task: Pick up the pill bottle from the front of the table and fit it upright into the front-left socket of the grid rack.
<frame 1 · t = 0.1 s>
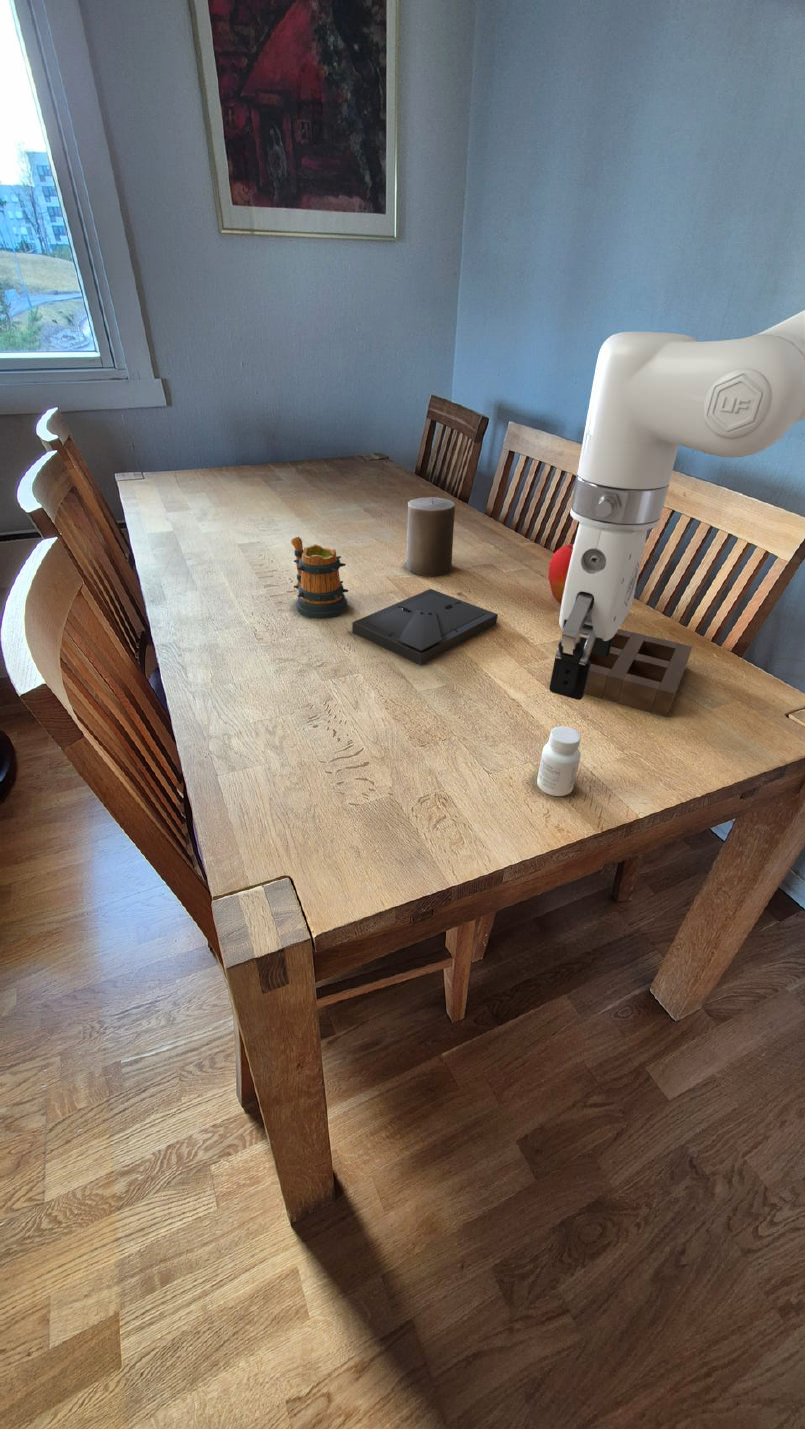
hand: (580, 672, 63), 18 cm above the table, tool pointing down, fingers open, 9 cm apart
grid rack: (622, 676, 98), on the table
picture frame: (425, 629, 110), on the table
pillar candle: (428, 568, 134), on the table
mug: (317, 605, 118), on the table
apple: (567, 603, 122), on the table
pill bottle: (554, 786, 77), on the table
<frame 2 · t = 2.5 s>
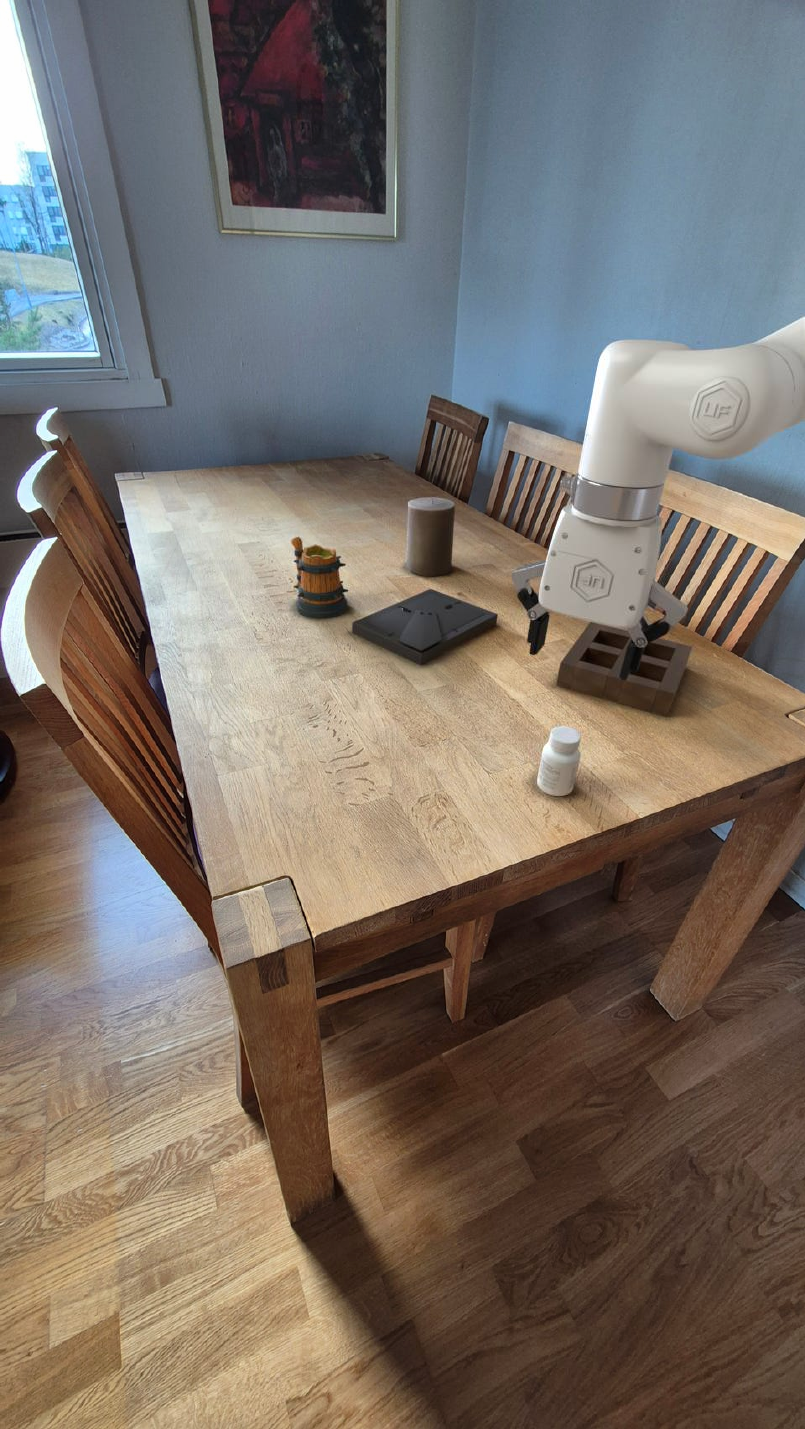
hand: (579, 661, 67), 17 cm above the table, tool pointing down, fingers open, 9 cm apart
nothing on the table moved.
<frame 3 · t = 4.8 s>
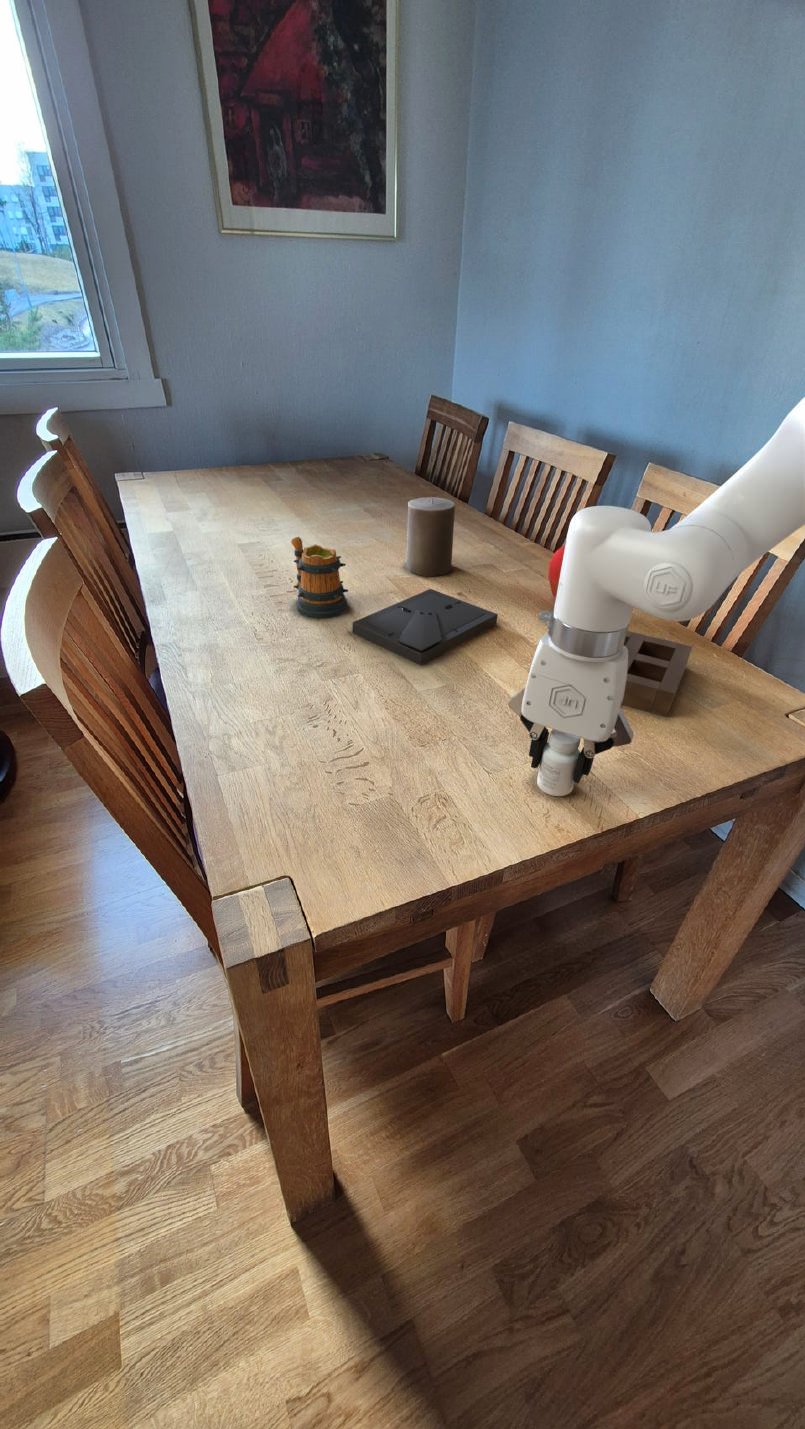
hand: (558, 767, 75), 3 cm above the table, tool pointing down, fingers closed on pill bottle, 4 cm apart
pill bottle: (554, 786, 77), on the table, touching gripper
everything else where it was.
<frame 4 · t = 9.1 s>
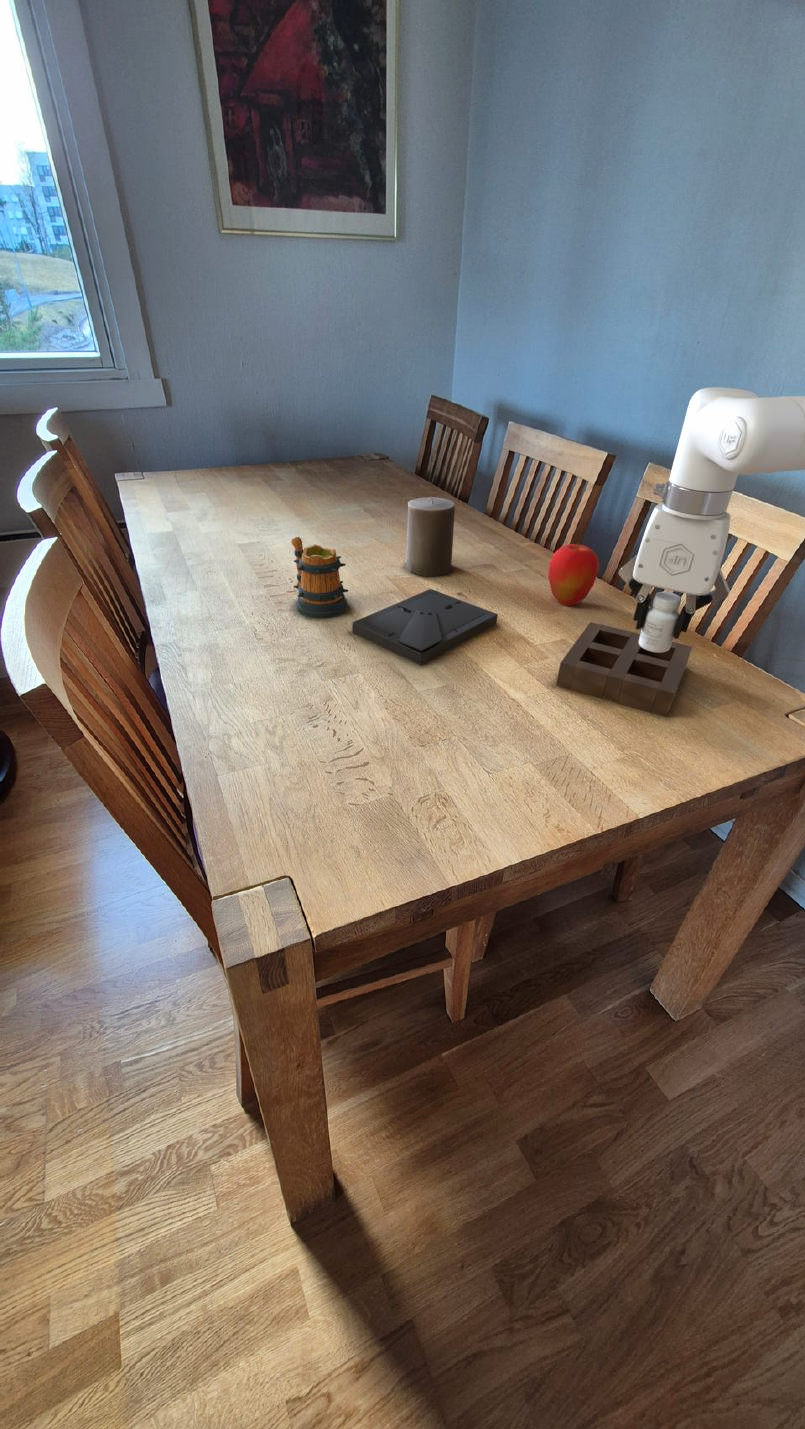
hand: (658, 629, 89), 11 cm above the table, tool pointing down, fingers closed on pill bottle, 4 cm apart
pill bottle: (653, 647, 90), point 8 cm above the table, touching gripper
everything else where it was.
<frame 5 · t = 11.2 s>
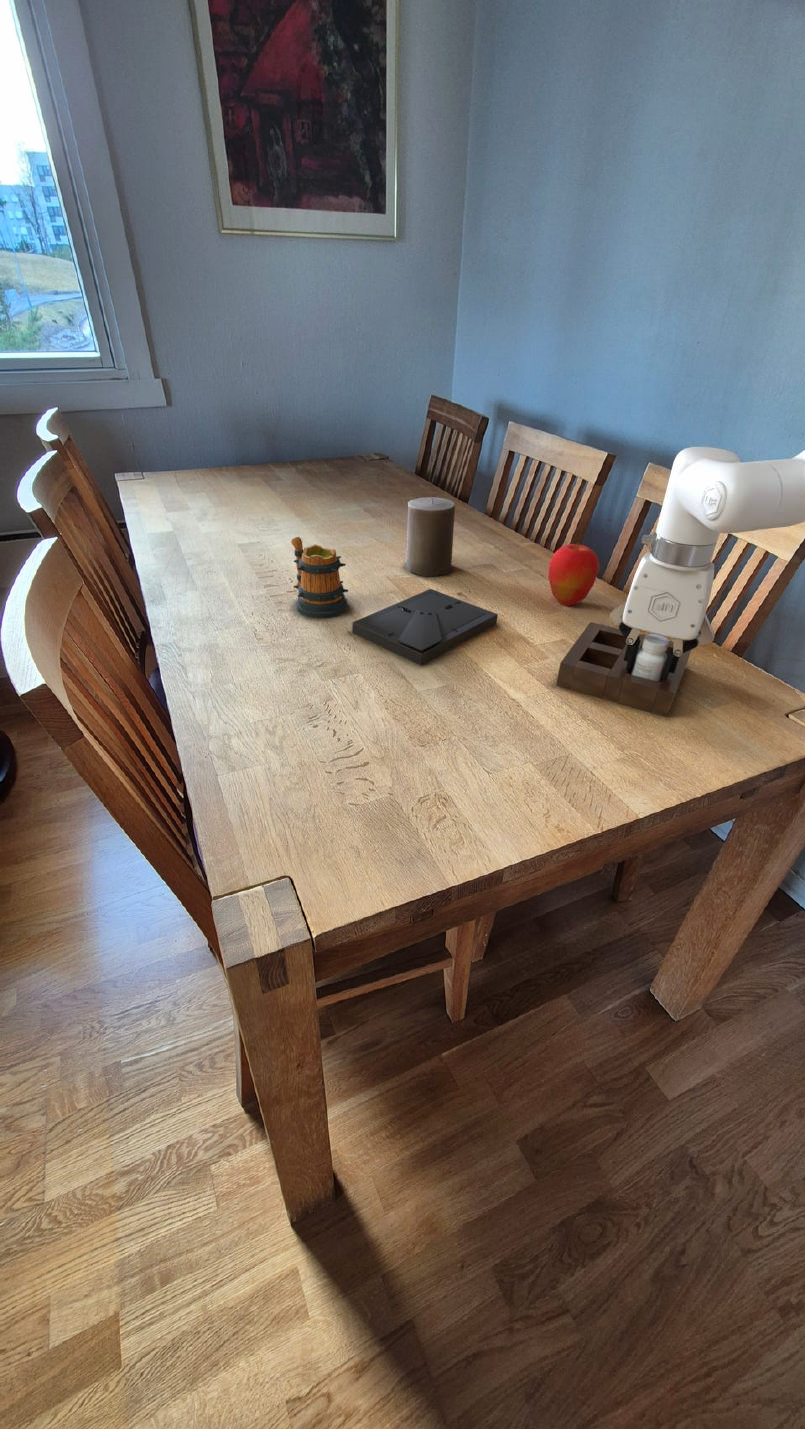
hand: (648, 669, 92), 4 cm above the table, tool pointing down, fingers closed on pill bottle, 4 cm apart
pill bottle: (643, 686, 94), point 1 cm above the table, touching gripper
everything else where it was.
when the fingers open (4 cm above the table, at t = 13.3 s): pill bottle drops 2 cm, resting in grid rack.
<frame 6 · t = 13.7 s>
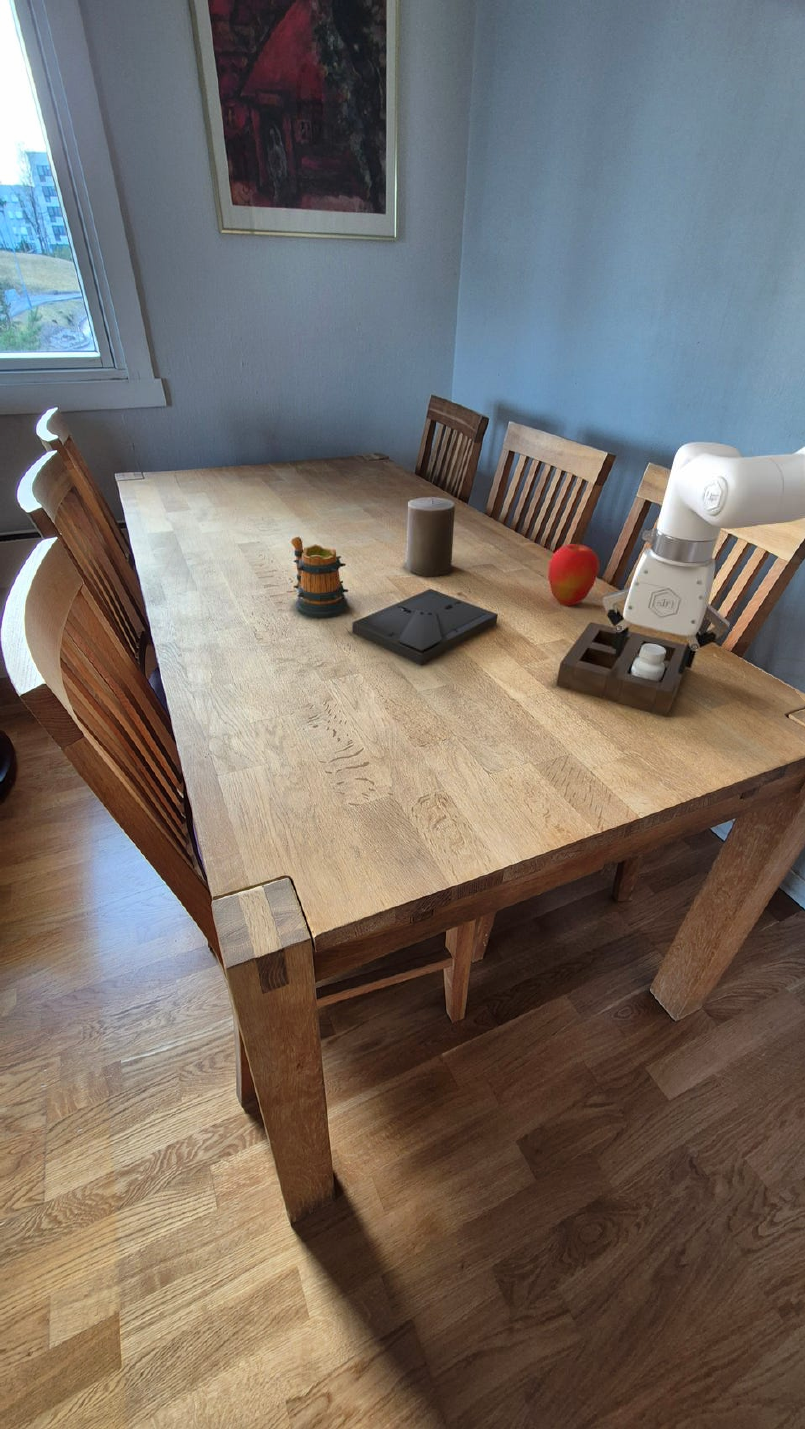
hand: (649, 661, 91), 5 cm above the table, tool pointing down, fingers open, 8 cm apart
pill bottle: (640, 695, 94), resting in grid rack
everything else where it was.
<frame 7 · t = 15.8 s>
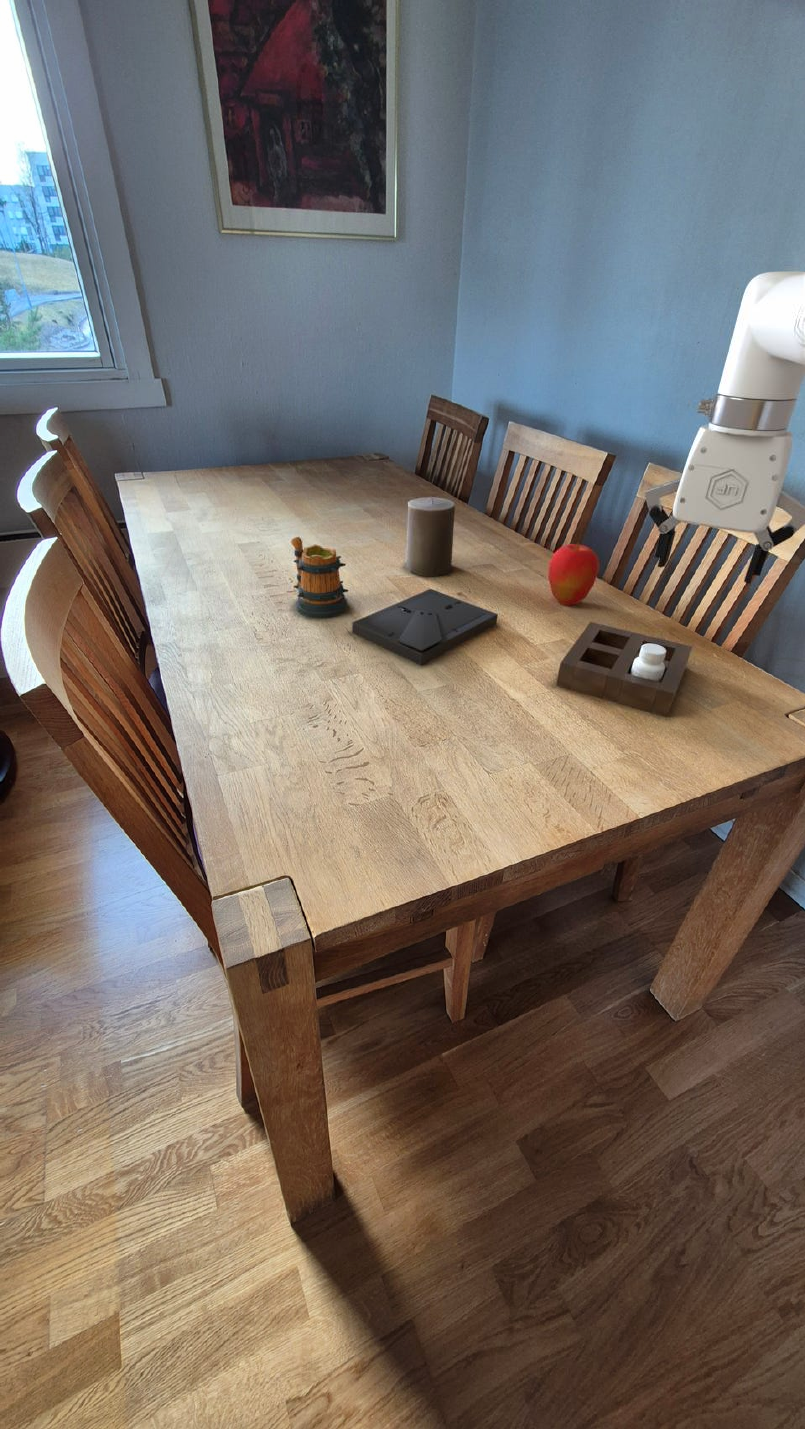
hand: (704, 571, 75), 22 cm above the table, tool pointing down, fingers open, 9 cm apart
nothing on the table moved.
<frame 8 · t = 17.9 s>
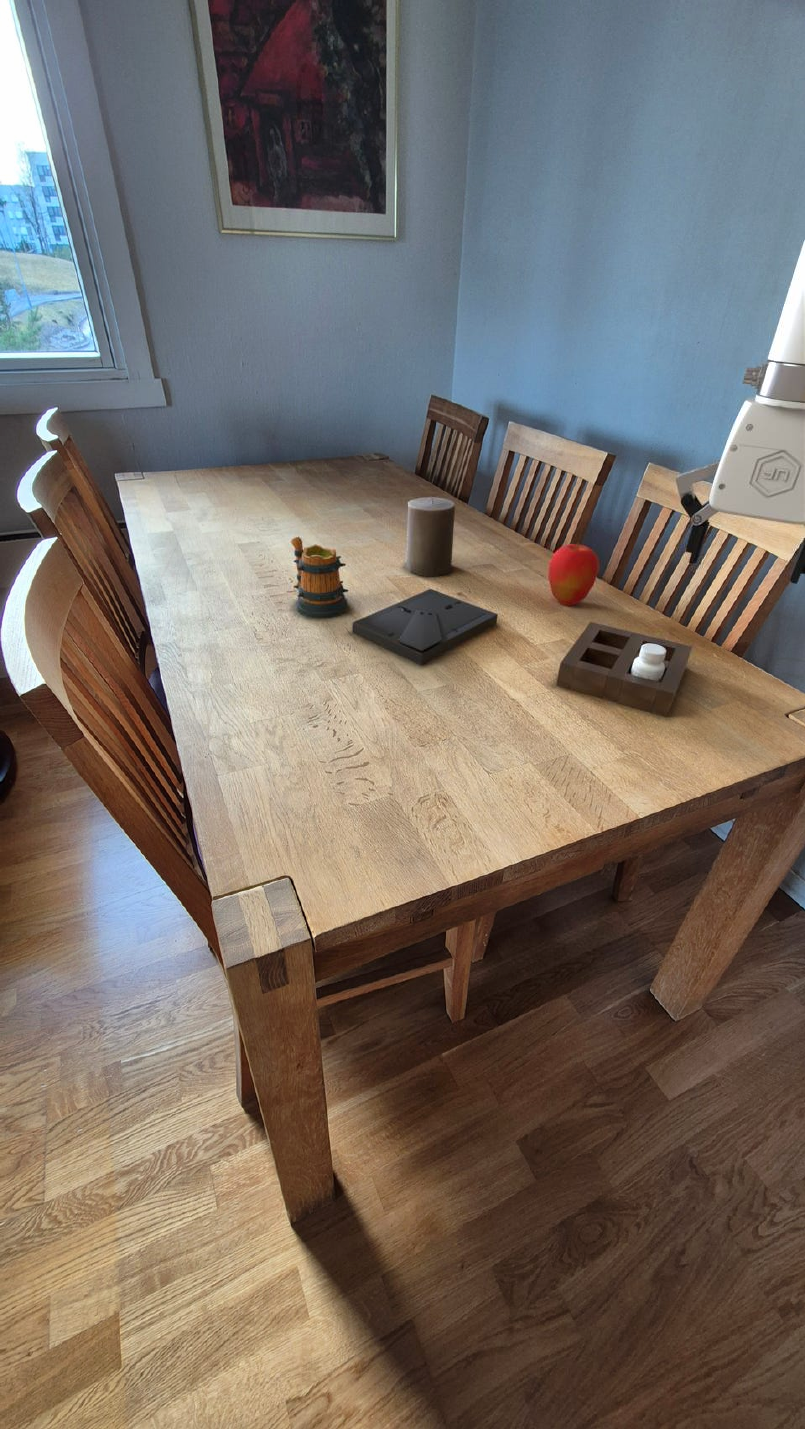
hand: (742, 569, 66), 26 cm above the table, tool pointing down, fingers open, 9 cm apart
nothing on the table moved.
at the end: pill bottle 0.2 cm from the target spot in the grid rack, point 0.0 cm above the grid rack's base; pill bottle tilted 0° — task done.
